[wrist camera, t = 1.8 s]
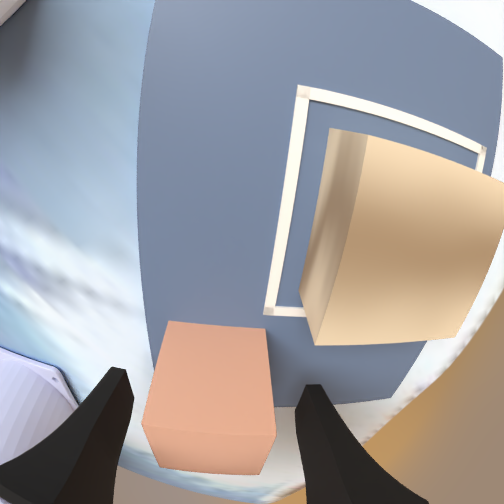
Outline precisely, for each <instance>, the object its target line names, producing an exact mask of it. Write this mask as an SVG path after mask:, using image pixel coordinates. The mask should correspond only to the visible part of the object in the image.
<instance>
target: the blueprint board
mask: <svg viewBox="0 0 504 504" xmlns="http://www.w3.org/2000/svg"><path fill="white" fill-rule="evenodd" d="M502 81H503V59H502V57H501V56H500V55H498V54H497V53H496V52H495V51H493V50H492V49H491V48H489V47H488V46H487V45H485V44H484V43H483V42H481V41H480V40H478V39H477V38H475V37H474V36H472V35H471V34H469V33H468V32H466V31H465V30H463V29H462V28H460V27H459V26H457V25H455V24H454V23H452V22H450V21H449V20H447V19H445V18H444V17H442V16H440V15H438V14H436V13H435V12H433V11H431V10H429V9H427V8H425V7H423V6H421V5H419V4H417V3H415V2H413V1H411V0H155V5H154V9H153V14H152V19H151V25H150V30H149V36H148V42H147V49H146V55H145V63H144V70H143V79H142V88H141V99H140V111H139V126H138V146H137V220H138V241H139V257H140V269H141V281H142V291H143V300H144V308H145V316H146V323H147V330H148V337H149V344H150V350H151V356H152V361H153V367H154V371H155V367H156V363H157V360H158V356H159V352H160V349H161V345H162V342H163V338H164V335H165V331H166V328H167V324H168V321H177V322H186V323H196V324H207V325H218V326H231V327H246V328H263V329H265V331H266V340H267V349H268V358H269V367H270V376H271V386H272V395H273V404H274V407H297V405H298V402H299V400H300V398H301V395H302V393H303V390H304V388H305V386H306V384H321V385H322V387H323V389H324V390H325V392H326V394H327V396H328V397H329V399H330V401H331V402H332V404H333V405H335V404H346V403H356V402H364V401H372V400H380V399H386V398H391V397H392V395H393V394H394V392H395V391H396V390H397V388H398V387H399V385H400V384H401V382H402V381H403V379H404V378H405V376H406V375H407V373H408V372H409V370H410V369H411V367H412V365H413V364H414V362H415V361H416V359H417V357H418V356H419V354H420V352H421V351H422V349H423V347H424V345H425V344H426V342H427V340H426V341H415V342H402V343H387V344H367V345H314V341H313V338H312V334H311V331H310V327H309V324H308V321H307V317H306V314H305V310H304V307H303V304H302V300H301V297H300V294H299V291H298V290H299V286H300V281H301V277H302V273H303V268H304V264H305V259H306V254H307V250H308V245H309V240H310V235H311V230H312V225H313V220H314V215H315V210H316V205H317V200H318V194H319V189H320V183H321V178H322V172H323V166H324V160H325V154H326V148H327V141H328V135H329V128H333V129H340V130H345V131H351V132H356V133H362V134H367V135H371V136H375V137H379V138H382V139H386V140H390V141H393V142H397V143H400V144H403V145H407V146H410V147H413V148H416V149H419V150H422V151H425V152H428V153H431V154H434V155H437V156H440V157H443V158H446V159H448V160H451V161H454V162H456V163H459V164H461V165H464V166H466V167H469V168H471V169H474V170H476V171H478V172H481V173H483V174H485V175H488V176H490V177H491V172H492V168H493V163H494V157H495V152H496V146H497V139H498V132H499V124H500V114H501V102H502Z"/></svg>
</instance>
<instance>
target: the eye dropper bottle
mask: <svg viewBox="0 0 504 504" xmlns="http://www.w3.org/2000/svg"><path fill="white" fill-rule="evenodd" d="M25 1H26V0H0V26H1V25H2V24H3V23H4V22H5V21H6V20H7V19H8V18H10V17H11V16H12V15H13V14H14V13H15V12H16V11H17V10H18V8H19V7H20V6H21V5H22V4H23V3H24V2H25Z"/></svg>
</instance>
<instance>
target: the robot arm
mask: <svg viewBox="0 0 504 504" xmlns="http://www.w3.org/2000/svg"><path fill="white" fill-rule="evenodd" d="M133 403H134V395H133V392H132V389H131V386H130V382H129V379H128V376H127V372H126V369H121V368H116V367H111V368H110V369H109V370H108V372H107V373H106V374H105V375H104V377H103V378H102V379H101V381H100V382H99V383H98V384H97V386H96V387H95V388H94V389H93V390H92V392H91V393H90V394H89V395H88V396H87V397H86V399H85V400H84V401H83V402H82V403H81V404H80V406H78V404H77V402H76V401H75V399H74V397H73V395H72V394H71V392H70V390H69V388H68V386H67V384H66V382H65V380H64V378H63V376H62V374H61V372H60V371H59V370H58V369H57V368H55V367H53V366H50V365H47V364H44V363H41V362H38V361H35V360H32V359H29V358H26V357H23V356H21V355H18V354H15V353H13V352H10V351H8V350H5V349H3V348H0V504H113V495H114V484H115V477H116V470H117V465H118V460H119V457H120V453H121V450H122V446H123V443H124V439H125V436H126V433H127V429H128V426H129V423H130V419H131V414H132V409H133ZM295 423H296V434H297V439H298V445H299V450H300V455H301V460H302V465H303V470H304V476H305V483H306V496H307V504H429V503H428V501H427V500H425V499H423V498H422V497H420V496H418V495H417V494H415V493H414V492H412V491H411V490H409V489H408V488H406V487H405V486H403V485H402V484H401V483H399V482H398V481H397V480H396V479H394V478H393V477H392V476H391V475H390V474H388V473H387V472H386V471H385V470H384V469H383V468H382V467H381V466H380V465H379V464H378V463H377V462H375V460H374V459H373V458H372V457H371V456H370V455H369V454H368V453H367V452H366V450H365V449H364V448H363V447H362V446H361V444H360V443H359V442H358V441H357V439H356V438H355V437H354V436H353V434H352V433H351V431H350V430H349V429H348V427H347V426H346V424H345V423H344V421H343V420H342V418H341V417H340V415H339V414H338V412H337V411H336V409H335V407H334V406H333V404H332V402H331V401H330V399H329V397H328V396H327V394H326V392H325V390H324V389H323V387H322V385H321V384H306V386H305V388H304V390H303V393H302V395H301V398H300V400H299V402H298V405H297V407H296V409H295Z"/></svg>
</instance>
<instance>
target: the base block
mask: <svg viewBox="0 0 504 504" xmlns="http://www.w3.org/2000/svg"><path fill="white" fill-rule="evenodd" d="M503 229H504V183H503V182H501V181H499V180H496V179H494V178H492V177H490V176H488V175H485V174H483V173H481V172H478V171H476V170H474V169H471V168H469V167H466V166H464V165H461V164H459V163H456V162H454V161H451V160H448V159H446V158H443V157H440V156H437V155H434V154H431V153H428V152H425V151H422V150H419V149H416V148H413V147H410V146H407V145H403V144H400V143H397V142H393V141H390V140H386V139H382V138H379V137H375V136H371V135H367V134H362V133H356V132H351V131H345V130H340V129H333V128H329V135H328V141H327V148H326V154H325V160H324V166H323V172H322V178H321V183H320V189H319V194H318V200H317V205H316V210H315V215H314V220H313V225H312V230H311V235H310V240H309V245H308V250H307V254H306V259H305V264H304V268H303V273H302V277H301V281H300V286H299V290H298V291H299V294H300V297H301V300H302V304H303V307H304V310H305V314H306V317H307V321H308V324H309V327H310V331H311V334H312V338H313V341H314V345H367V344H387V343H402V342H415V341H426V340H436V339H445V338H454V337H455V336H456V334H457V333H458V331H459V329H460V327H461V326H462V324H463V322H464V320H465V318H466V316H467V314H468V313H469V311H470V309H471V307H472V305H473V303H474V301H475V299H476V297H477V294H478V292H479V290H480V288H481V286H482V284H483V281H484V279H485V277H486V274H487V272H488V270H489V267H490V265H491V262H492V260H493V257H494V255H495V252H496V249H497V247H498V244H499V241H500V238H501V235H502V232H503Z"/></svg>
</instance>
